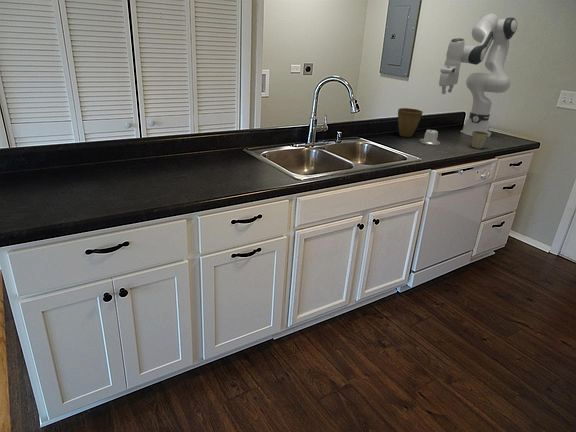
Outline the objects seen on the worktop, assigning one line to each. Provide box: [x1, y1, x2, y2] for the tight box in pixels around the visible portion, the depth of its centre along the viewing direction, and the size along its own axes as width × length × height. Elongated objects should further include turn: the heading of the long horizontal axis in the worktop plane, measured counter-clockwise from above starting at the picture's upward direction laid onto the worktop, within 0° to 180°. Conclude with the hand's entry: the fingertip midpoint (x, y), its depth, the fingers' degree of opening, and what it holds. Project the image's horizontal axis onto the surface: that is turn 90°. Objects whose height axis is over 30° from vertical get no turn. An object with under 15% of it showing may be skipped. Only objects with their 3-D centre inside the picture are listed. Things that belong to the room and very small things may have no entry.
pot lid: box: [418, 138, 441, 147], centre depth 238 cm, size 12×12×6 cm
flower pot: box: [470, 131, 489, 149], centre depth 235 cm, size 9×9×9 cm
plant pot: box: [397, 107, 424, 138], centre depth 250 cm, size 15×15×16 cm
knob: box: [423, 129, 439, 143], centre depth 238 cm, size 6×6×7 cm
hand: (446, 93), depth 239 cm, fingers open, 8 cm apart
